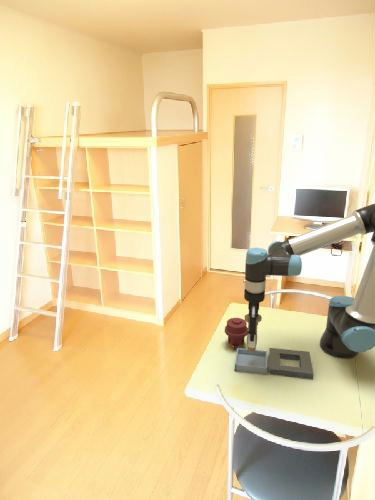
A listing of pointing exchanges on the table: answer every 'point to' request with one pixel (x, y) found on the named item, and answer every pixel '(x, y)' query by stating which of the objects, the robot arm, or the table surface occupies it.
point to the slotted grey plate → (290, 371)
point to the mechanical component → (236, 331)
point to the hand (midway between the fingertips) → (251, 343)
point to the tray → (251, 361)
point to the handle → (258, 319)
